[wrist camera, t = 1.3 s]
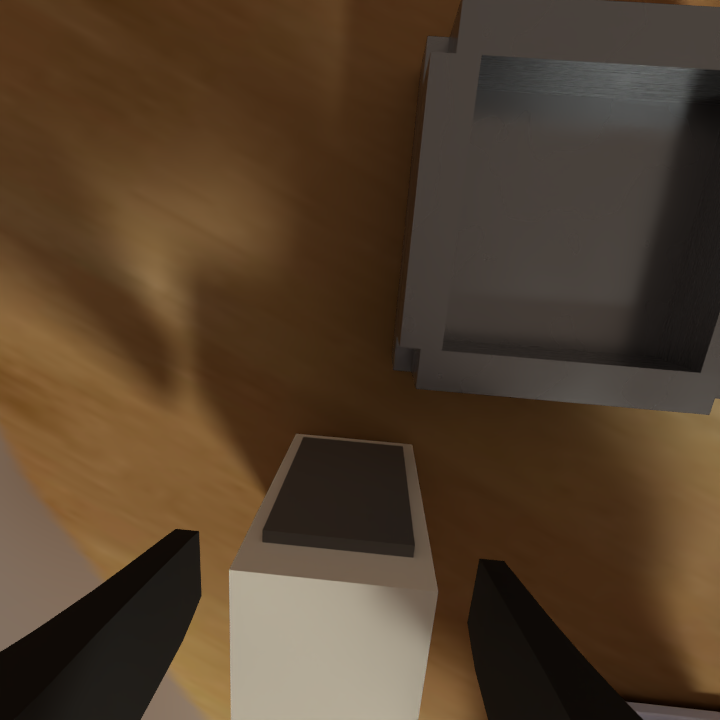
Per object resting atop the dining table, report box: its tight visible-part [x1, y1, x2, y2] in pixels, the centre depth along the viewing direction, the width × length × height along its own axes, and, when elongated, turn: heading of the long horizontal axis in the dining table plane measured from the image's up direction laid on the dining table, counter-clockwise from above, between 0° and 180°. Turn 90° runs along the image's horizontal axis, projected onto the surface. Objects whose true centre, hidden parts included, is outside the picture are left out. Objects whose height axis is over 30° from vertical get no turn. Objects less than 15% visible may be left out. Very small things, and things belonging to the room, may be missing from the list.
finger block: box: [229, 434, 438, 720], centre depth 11 cm, size 4×4×6 cm
